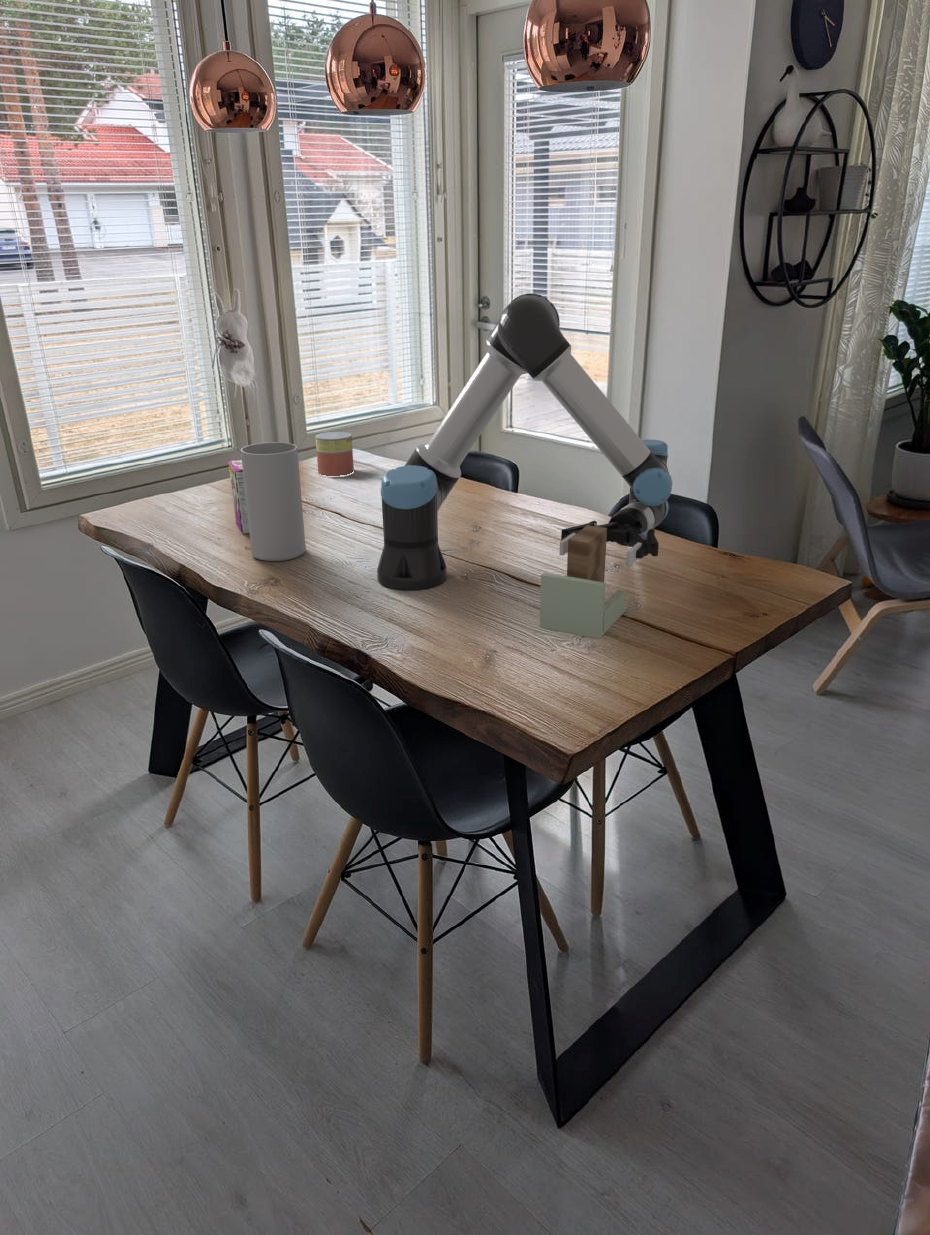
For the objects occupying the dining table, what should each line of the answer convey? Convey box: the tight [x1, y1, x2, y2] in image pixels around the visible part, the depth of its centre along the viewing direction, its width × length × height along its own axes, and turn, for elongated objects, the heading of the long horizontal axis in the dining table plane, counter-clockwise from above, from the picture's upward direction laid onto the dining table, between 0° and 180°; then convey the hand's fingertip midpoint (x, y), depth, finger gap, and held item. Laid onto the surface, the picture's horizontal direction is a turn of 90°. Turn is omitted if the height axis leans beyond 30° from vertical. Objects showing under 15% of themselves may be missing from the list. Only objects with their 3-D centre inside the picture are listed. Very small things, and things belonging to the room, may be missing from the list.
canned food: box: [314, 431, 355, 476], centre depth 282 cm, size 11×11×12 cm
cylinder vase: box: [240, 441, 307, 562], centre depth 209 cm, size 12×12×25 cm
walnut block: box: [566, 525, 607, 582], centre depth 172 cm, size 10×4×14 cm, turn 153°
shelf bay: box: [539, 572, 628, 640], centre depth 174 cm, size 16×12×11 cm
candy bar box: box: [228, 459, 250, 535], centre depth 229 cm, size 11×5×16 cm, turn 22°
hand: (594, 554), depth 173 cm, fingers open, 13 cm apart
